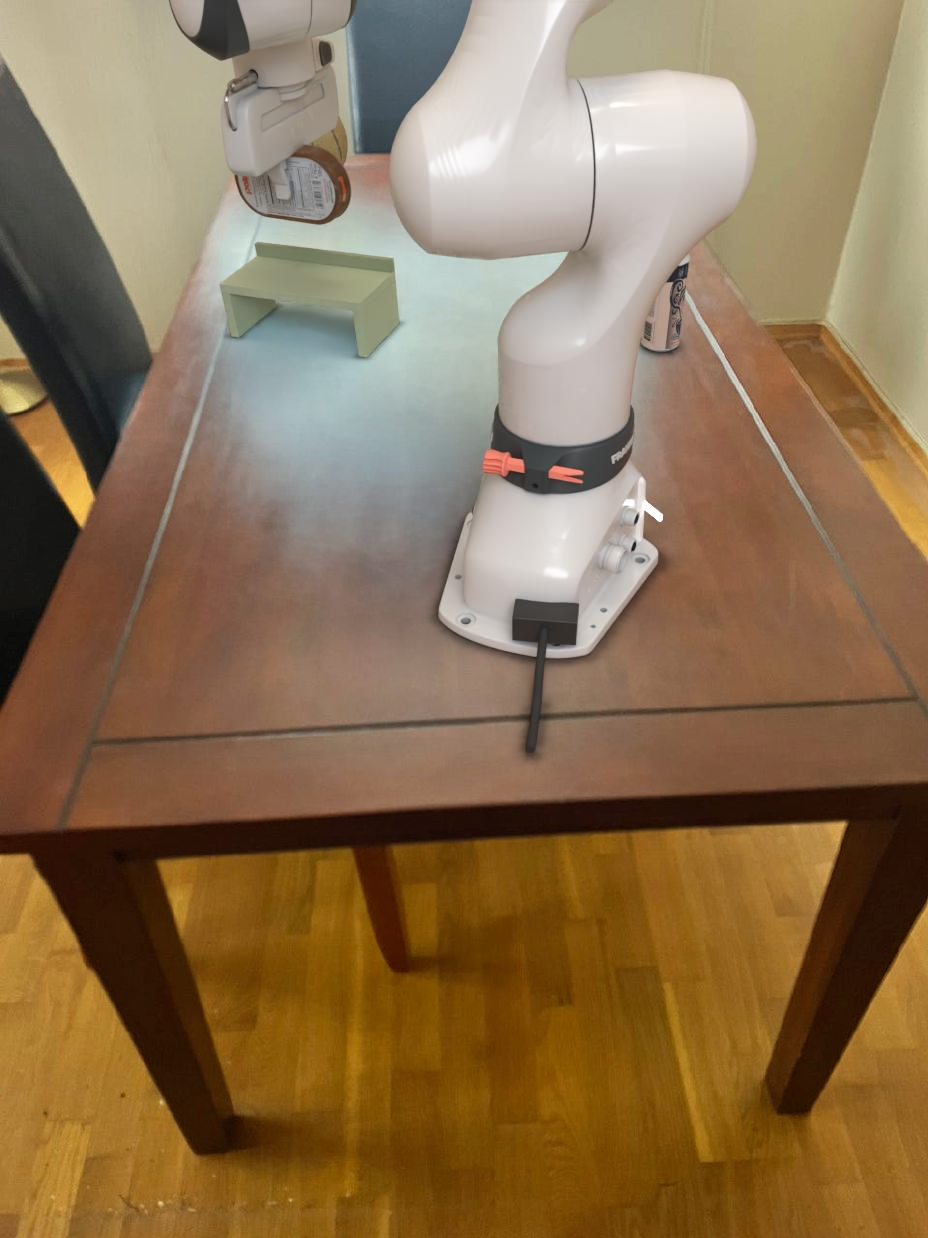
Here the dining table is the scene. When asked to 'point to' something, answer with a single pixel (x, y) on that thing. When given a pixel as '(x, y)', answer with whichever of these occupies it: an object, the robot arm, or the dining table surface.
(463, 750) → the dining table surface
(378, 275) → the shelf
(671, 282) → the beer can
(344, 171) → the tin
